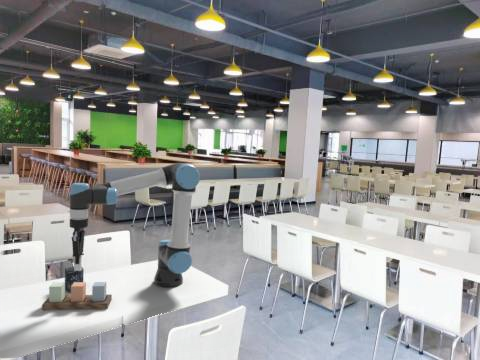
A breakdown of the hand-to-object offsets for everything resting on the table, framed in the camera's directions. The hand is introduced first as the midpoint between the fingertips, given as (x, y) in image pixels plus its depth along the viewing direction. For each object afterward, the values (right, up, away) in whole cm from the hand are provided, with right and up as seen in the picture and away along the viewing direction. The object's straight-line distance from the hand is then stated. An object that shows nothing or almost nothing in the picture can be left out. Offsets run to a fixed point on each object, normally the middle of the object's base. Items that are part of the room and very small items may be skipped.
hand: (77, 270), depth 167 cm
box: (-10, -14, +19) cm, 26 cm away
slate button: (+9, -14, +3) cm, 16 cm away
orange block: (0, -13, +1) cm, 14 cm away
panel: (0, -16, +2) cm, 16 cm away
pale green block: (-9, -13, 0) cm, 16 cm away
